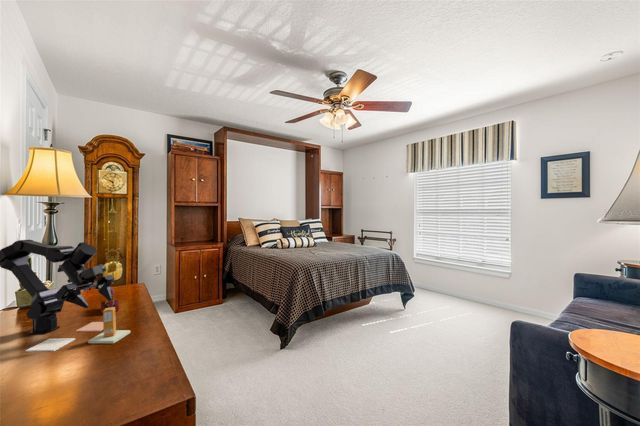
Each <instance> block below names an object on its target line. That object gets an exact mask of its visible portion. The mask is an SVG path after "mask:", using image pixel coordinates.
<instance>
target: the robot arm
mask: <svg viewBox="0 0 640 426" xmlns="http://www.w3.org/2000/svg"><path fill="white" fill-rule="evenodd" d="M97 252H98V250H97V248H96V247H95V246H93V245H91V244H87V243H86V242H84V241H83V242H79V243H78V244H77V245H76V247H74V246H71V245H51V244H49V243H44V242H39V241H35V240H33V239H20V240H16V241H14V242H13V243H12V244H10V245H8V246H5V247H2V248H0V268H1V269H3V270H6V271H10V272H11V273H12V275H14V276H15V278H16V279H17V280H18V281H19V283H20V285H22V287H23V288H24V289H25V290H26V292H27V293H28V294H29V295H30V297H31V302H30V306H31V307H30V308H29V310H27V312H26V318H27V319H30V320H31V319H32V330H31V331H29V332H28V335H30V334H31V335H32V334H33V335H45V334H48V333H51V332H52V331H55V330H57V329H59V328H60V327H61V326H60V325H58V317H57V313H61V312H62V309H63V306H64V303H65V302H67V303H71V304H74V305H76V306H79V307H82V308H84V309H88V308H89V304H88V302H87V300H86V299H85V298H84V296H83V295H82V292H81V291H85V290H88V289H91V288H95V289H97V292H98V293H99V294H100V295H102V296H103V297H104V299H106V300H107V299H108V300H109V301H111V300H112V295H111V290H110V287H111V285H112V284H113V283H114V281H115V280H116V278H115V277H114V276H113V274H107V275H103V274H104V272H106V271H107V267H106V266H105V265H104V264H103V263H100V264H97V265H96V266H91V267H88V268H86V267H85V266H84V265H86V264H88V263H89V262H90V261H91V260H92V259H93V258H94V256H95V255H96V254H97ZM31 254H34V255H37V256H38V255H39V256H43V257H44V258H45V260H47V261H49V262H50V263H53V264H54V263H55V264H57V263H62V262H63V263H62V264H59V265H58V268H57V272H58V273H62V272H63V273H64V274H65V275H66V277H67V278H68V279H67V283H68V284H63V285H62V286H61V287H60V288H59V289H57V288H53V289H50V288H48V287H46V285H45V284H44V283H43V281H42V280H41V279H40V278H39V276H37V274H36V272H34V270H33V269H32V268H31V267H30V266H29V264H28V260H29V256H30V255H31ZM100 275H103V276H101V277H100V278H99V279H98V276H100ZM95 280H96V281H95Z"/></svg>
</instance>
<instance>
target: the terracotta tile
mask: <svg viewBox="0 0 640 426" xmlns="http://www.w3.org/2000/svg"><path fill="white" fill-rule="evenodd" d="M102 331H104V328H103V321H91V322H90V323H88V324H86V325H84V326H82V327H79V328H78V329H76V330H75V333H81V332H82V333H86V332H87V333H89V332H93V333H94V332H95V333H96V332H102Z"/></svg>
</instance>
